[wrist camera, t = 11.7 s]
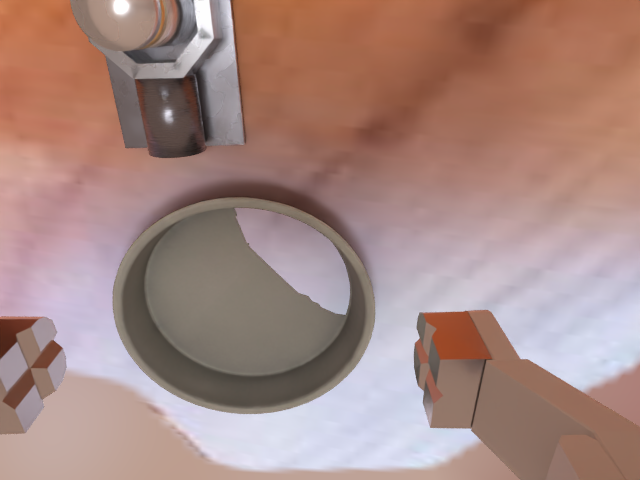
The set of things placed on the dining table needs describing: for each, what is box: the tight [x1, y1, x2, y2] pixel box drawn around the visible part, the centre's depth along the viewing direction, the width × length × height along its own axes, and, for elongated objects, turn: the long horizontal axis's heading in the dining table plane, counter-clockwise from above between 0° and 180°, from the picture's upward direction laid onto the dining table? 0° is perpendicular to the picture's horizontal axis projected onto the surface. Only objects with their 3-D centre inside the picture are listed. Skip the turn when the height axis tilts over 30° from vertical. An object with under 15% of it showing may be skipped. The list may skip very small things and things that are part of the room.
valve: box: [70, 0, 195, 51], centre depth 28 cm, size 4×4×10 cm
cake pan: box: [113, 197, 375, 414], centre depth 43 cm, size 25×25×4 cm
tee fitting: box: [88, 0, 246, 158], centre depth 31 cm, size 10×20×5 cm, turn 1°
